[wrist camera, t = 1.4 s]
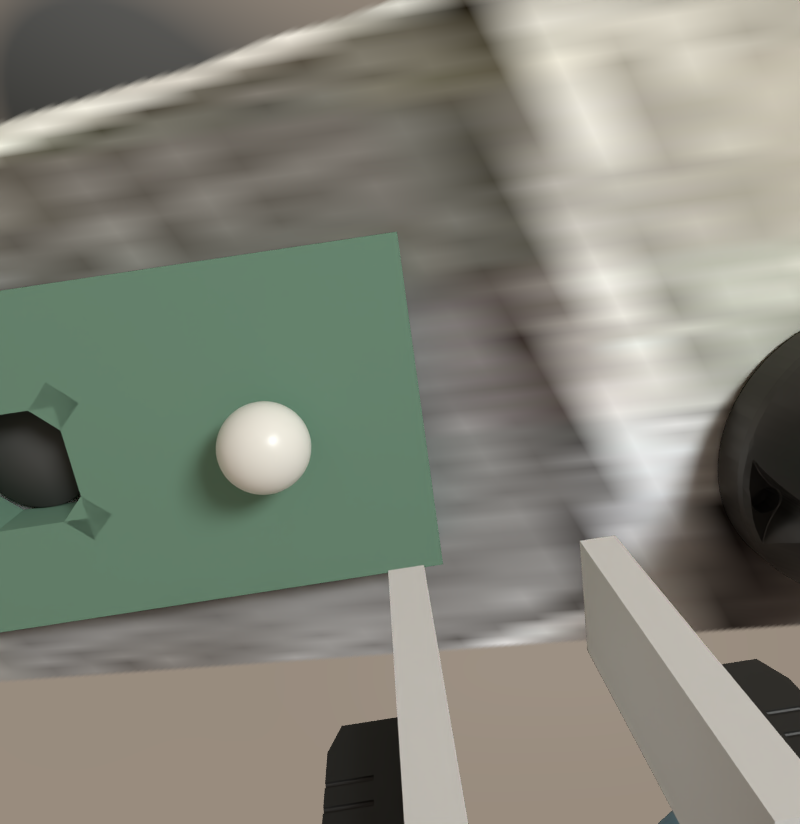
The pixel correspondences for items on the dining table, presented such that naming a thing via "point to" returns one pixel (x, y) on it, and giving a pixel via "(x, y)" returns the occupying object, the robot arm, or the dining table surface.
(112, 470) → the putting mat
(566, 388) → the dining table surface
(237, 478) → the golf ball
